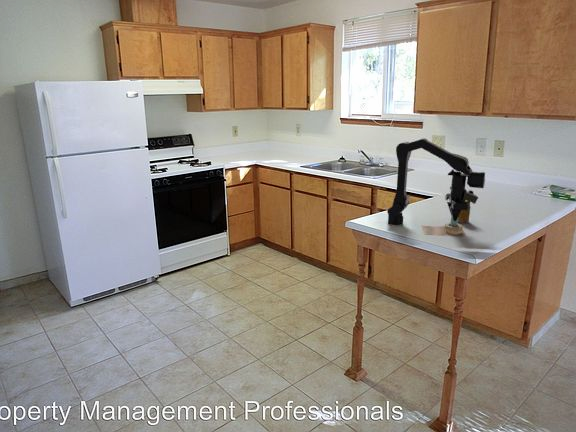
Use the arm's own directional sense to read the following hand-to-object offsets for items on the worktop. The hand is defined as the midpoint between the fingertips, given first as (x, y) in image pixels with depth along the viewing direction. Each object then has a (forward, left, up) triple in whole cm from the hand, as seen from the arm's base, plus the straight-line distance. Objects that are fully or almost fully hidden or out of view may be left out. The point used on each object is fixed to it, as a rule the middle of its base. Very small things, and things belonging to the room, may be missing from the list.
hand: (454, 220), depth 192 cm
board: (-4, 0, -7) cm, 8 cm away
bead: (0, 0, -6) cm, 6 cm away
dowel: (0, 0, -3) cm, 3 cm away
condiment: (+8, +16, -7) cm, 19 cm away
